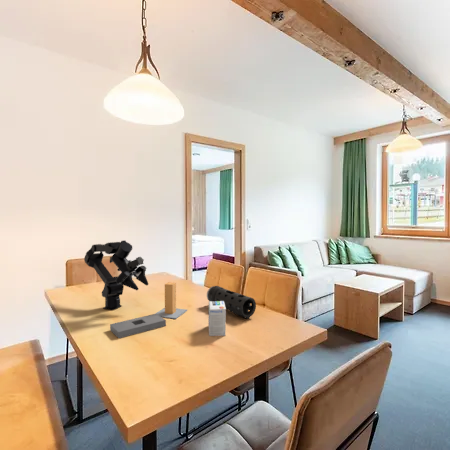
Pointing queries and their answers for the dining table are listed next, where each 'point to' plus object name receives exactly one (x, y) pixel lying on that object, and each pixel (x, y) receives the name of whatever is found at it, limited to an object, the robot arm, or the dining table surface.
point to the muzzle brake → (233, 301)
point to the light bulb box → (217, 318)
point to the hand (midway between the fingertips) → (143, 287)
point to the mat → (172, 316)
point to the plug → (170, 298)
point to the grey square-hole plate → (137, 325)
